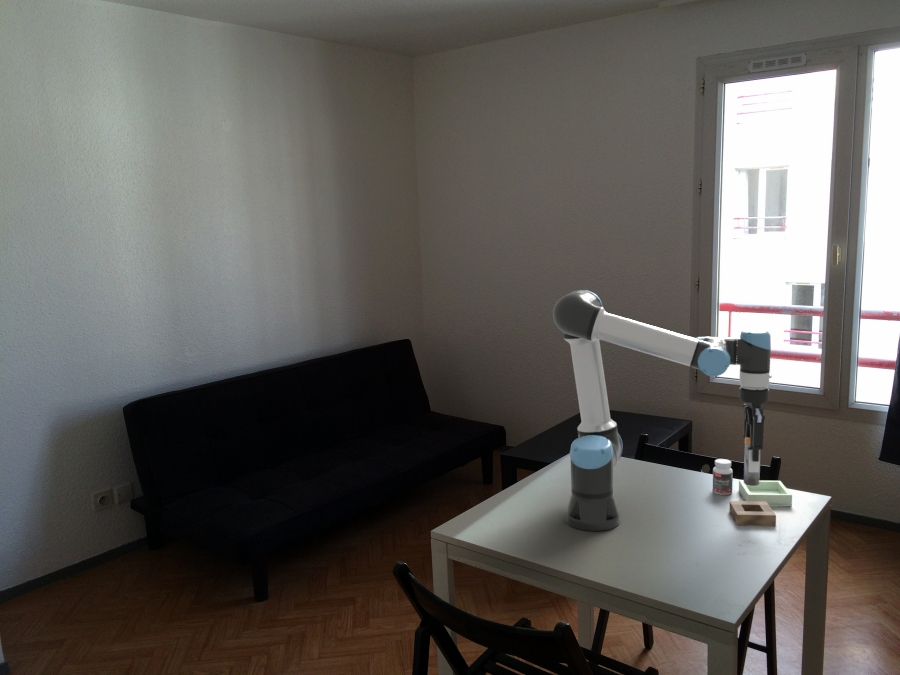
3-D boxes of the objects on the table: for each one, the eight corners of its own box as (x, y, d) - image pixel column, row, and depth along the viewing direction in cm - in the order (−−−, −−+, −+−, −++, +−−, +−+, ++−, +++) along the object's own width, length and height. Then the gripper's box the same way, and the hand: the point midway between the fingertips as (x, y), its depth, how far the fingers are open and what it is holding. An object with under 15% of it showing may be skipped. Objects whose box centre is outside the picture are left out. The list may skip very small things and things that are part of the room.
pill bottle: (712, 494, 223) (712, 463, 221) (712, 488, 228) (713, 457, 226) (732, 496, 221) (732, 464, 219) (732, 489, 226) (733, 459, 224)
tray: (748, 505, 213) (748, 494, 212) (738, 491, 224) (738, 480, 224) (791, 506, 211) (792, 495, 210) (780, 491, 222) (780, 480, 222)
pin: (745, 485, 201) (746, 440, 199) (742, 480, 205) (743, 435, 203) (760, 485, 200) (762, 440, 198) (757, 480, 204) (758, 436, 202)
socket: (737, 525, 200) (737, 514, 200) (729, 510, 210) (729, 500, 209) (775, 525, 198) (776, 515, 198) (766, 511, 208) (766, 501, 208)
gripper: (777, 394, 190) (774, 480, 193) (760, 379, 206) (758, 459, 210) (747, 393, 191) (744, 479, 194) (733, 379, 207) (731, 458, 211)
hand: (751, 468), depth 202 cm, fingers closed on pin, 4 cm apart
